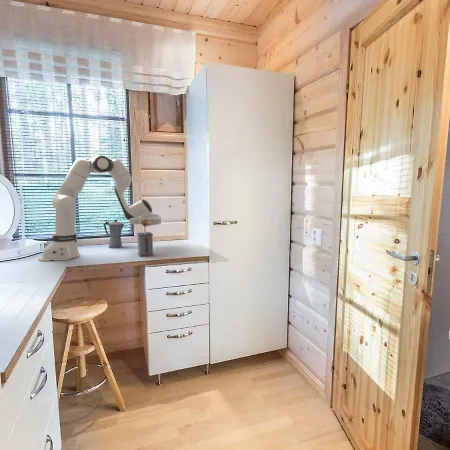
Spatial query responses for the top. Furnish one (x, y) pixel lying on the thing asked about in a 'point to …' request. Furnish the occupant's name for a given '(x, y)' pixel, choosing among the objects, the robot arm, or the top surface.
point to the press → (145, 244)
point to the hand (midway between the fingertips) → (144, 222)
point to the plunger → (144, 221)
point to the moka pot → (114, 233)
